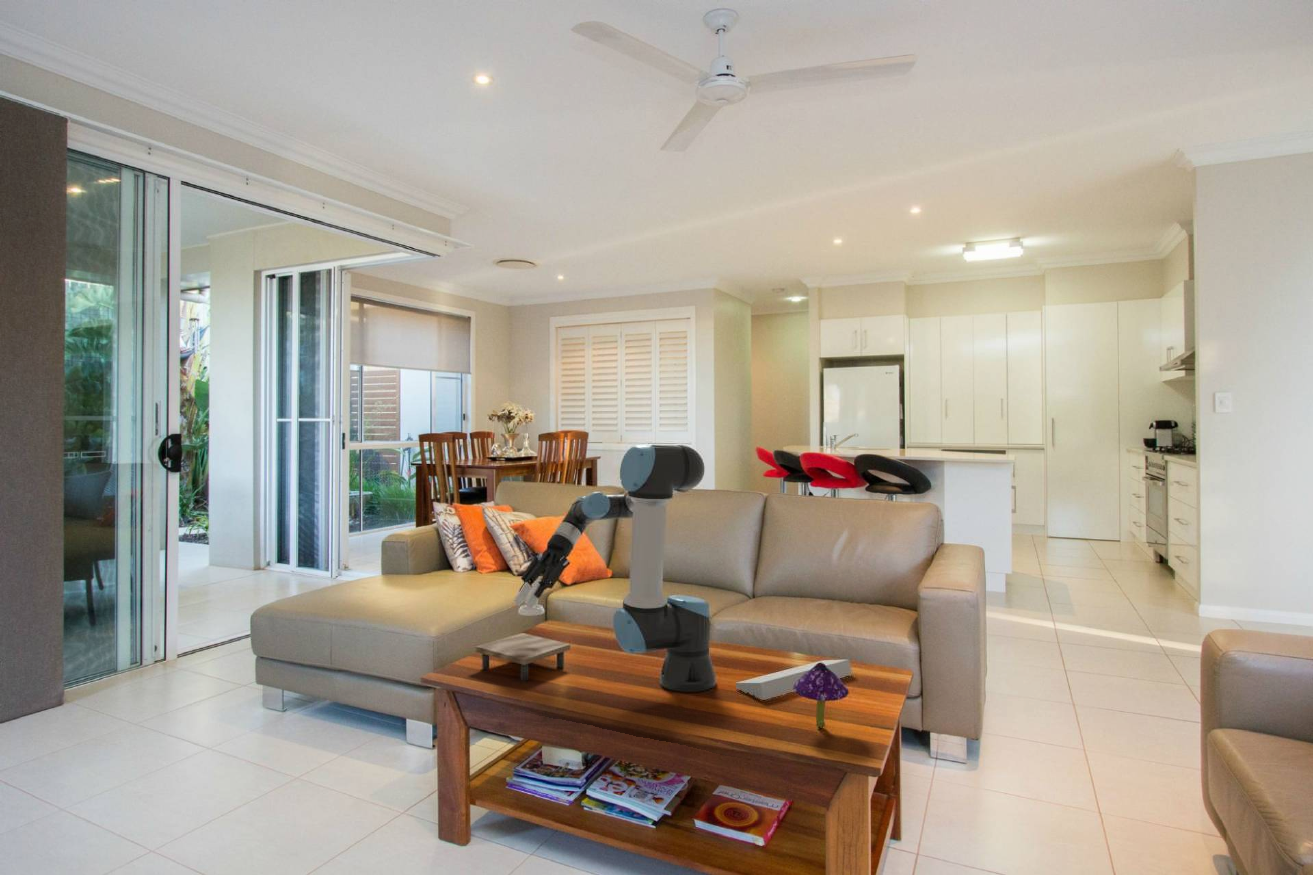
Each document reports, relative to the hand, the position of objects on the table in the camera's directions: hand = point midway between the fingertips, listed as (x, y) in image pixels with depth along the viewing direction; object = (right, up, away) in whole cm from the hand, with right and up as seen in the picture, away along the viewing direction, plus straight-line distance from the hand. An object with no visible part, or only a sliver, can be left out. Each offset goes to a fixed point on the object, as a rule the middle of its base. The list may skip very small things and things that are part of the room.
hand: (522, 604), depth 200 cm
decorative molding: (+77, -20, -11) cm, 80 cm away
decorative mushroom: (+76, -19, -42) cm, 89 cm away
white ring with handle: (+2, -3, +4) cm, 5 cm away
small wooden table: (0, -18, 0) cm, 18 cm away
